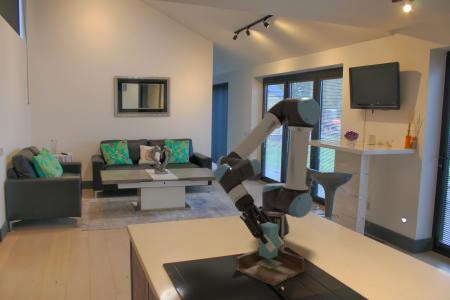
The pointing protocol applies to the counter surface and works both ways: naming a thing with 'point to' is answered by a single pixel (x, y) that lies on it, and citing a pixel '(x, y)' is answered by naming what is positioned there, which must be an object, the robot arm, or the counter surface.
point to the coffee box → (279, 220)
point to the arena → (270, 266)
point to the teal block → (272, 234)
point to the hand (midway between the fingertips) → (277, 247)
